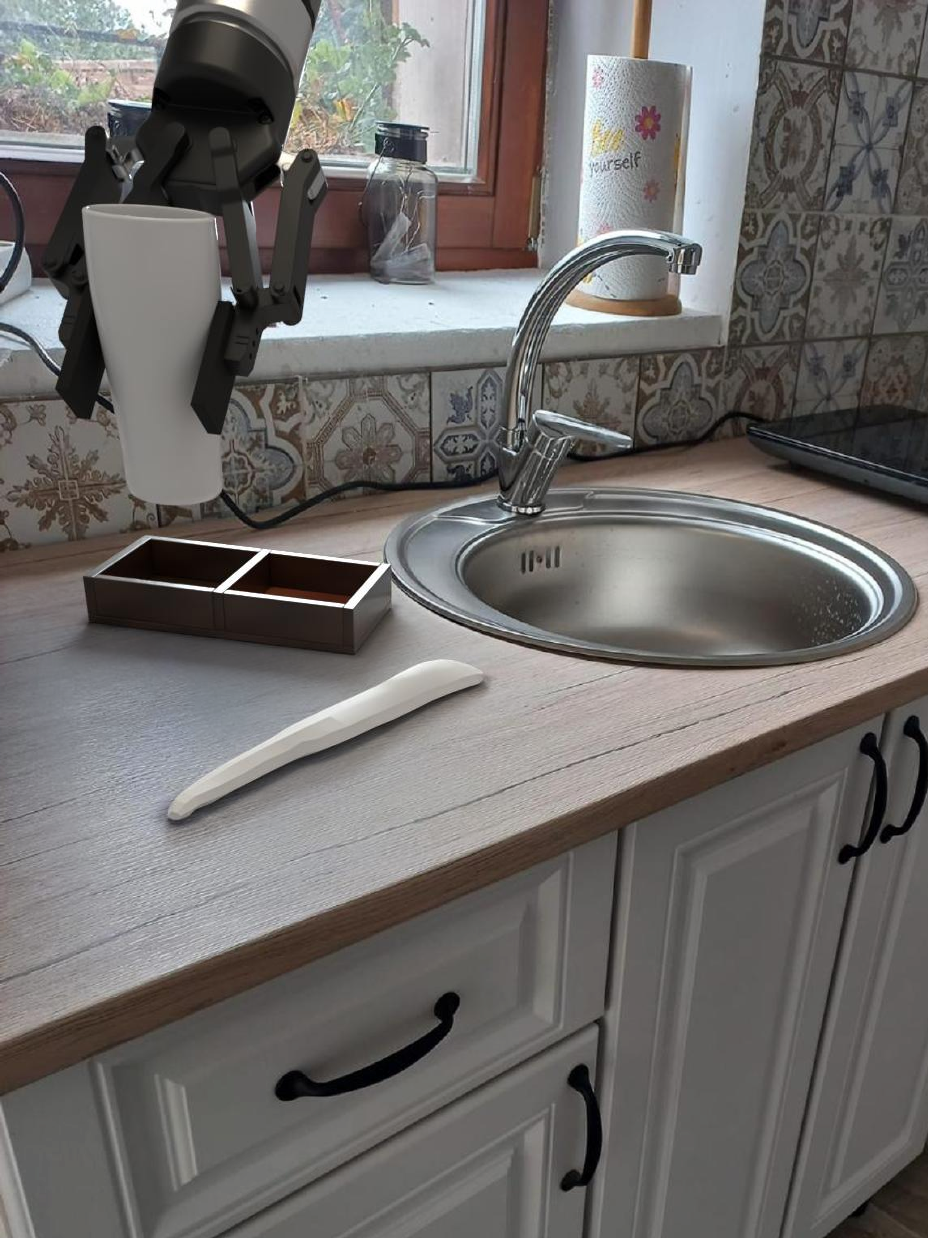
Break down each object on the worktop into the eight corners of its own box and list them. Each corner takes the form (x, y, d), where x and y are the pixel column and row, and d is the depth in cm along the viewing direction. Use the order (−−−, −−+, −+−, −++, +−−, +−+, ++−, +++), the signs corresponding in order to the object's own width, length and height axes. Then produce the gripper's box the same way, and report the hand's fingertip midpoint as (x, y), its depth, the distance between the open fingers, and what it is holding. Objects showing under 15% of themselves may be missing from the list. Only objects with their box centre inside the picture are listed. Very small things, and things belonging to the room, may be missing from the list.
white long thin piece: (189, 827, 69) (181, 787, 68) (138, 813, 71) (130, 773, 70) (490, 685, 90) (488, 653, 89) (444, 677, 92) (441, 645, 91)
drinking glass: (169, 519, 69) (139, 220, 61) (88, 493, 71) (50, 203, 64) (261, 497, 74) (244, 218, 66) (183, 472, 77) (158, 202, 69)
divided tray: (88, 622, 93) (82, 575, 91) (149, 577, 102) (144, 534, 100) (354, 654, 92) (353, 608, 90) (391, 606, 101) (391, 564, 99)
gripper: (408, 138, 76) (333, 470, 70) (98, 106, 77) (-2, 430, 71) (384, 30, 68) (298, 391, 63) (41, -4, 69) (-75, 347, 64)
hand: (139, 411), depth 67 cm, fingers closed on drinking glass, 7 cm apart
